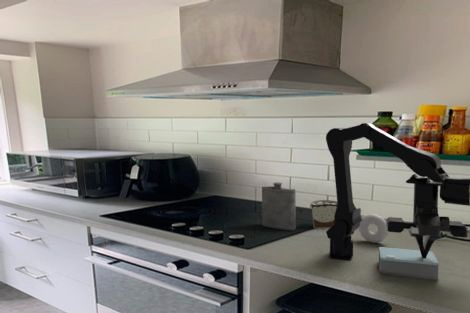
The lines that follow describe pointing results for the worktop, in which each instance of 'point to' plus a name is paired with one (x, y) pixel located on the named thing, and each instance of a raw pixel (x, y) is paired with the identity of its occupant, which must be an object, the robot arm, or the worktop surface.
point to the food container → (323, 213)
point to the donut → (379, 222)
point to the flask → (278, 207)
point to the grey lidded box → (408, 269)
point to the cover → (407, 256)
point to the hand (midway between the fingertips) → (423, 257)
